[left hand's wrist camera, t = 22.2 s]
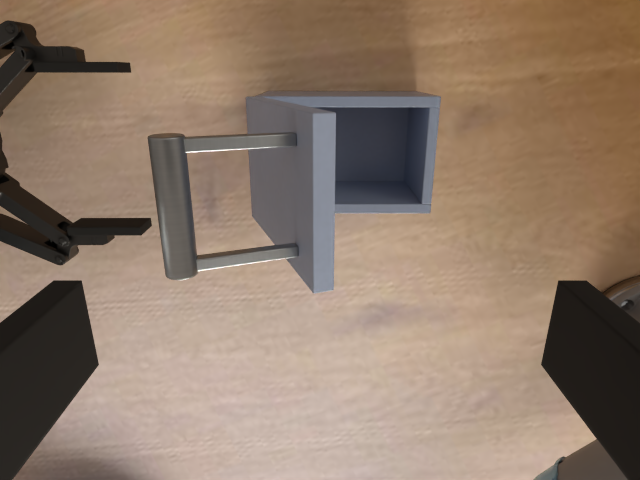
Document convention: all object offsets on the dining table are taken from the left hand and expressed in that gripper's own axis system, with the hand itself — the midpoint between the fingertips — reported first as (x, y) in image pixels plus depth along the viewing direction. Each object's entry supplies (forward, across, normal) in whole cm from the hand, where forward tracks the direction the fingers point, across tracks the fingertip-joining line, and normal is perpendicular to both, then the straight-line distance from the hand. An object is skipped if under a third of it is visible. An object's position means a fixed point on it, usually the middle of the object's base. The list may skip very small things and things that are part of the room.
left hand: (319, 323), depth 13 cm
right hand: (+28, +16, 0) cm, 32 cm away
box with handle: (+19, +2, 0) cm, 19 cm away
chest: (+35, -2, 0) cm, 35 cm away
